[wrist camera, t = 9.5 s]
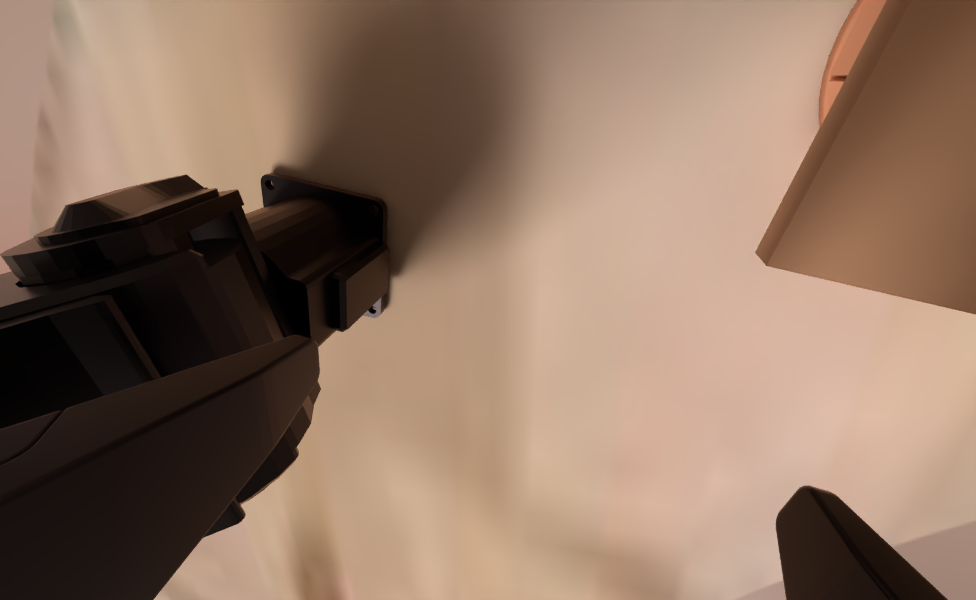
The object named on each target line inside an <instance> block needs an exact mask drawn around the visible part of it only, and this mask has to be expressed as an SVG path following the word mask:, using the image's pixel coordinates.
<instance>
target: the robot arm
mask: <svg viewBox="0 0 976 600" xmlns="http://www.w3.org/2000/svg"><path fill="white" fill-rule="evenodd" d="M271 181H272V182H273V183H274V186H275V187H273V186H272V184H271ZM261 188H262V197H263V205H264V208H261V209H258V210H256V211H253V212H250V213H248V214H245V213H244V211H243V209H242V205H244V203H243V200H242V198H241V196H240V193H239V191H238V190H230V191H222V192H218V190H217V189H216V188H215V189H208V188H204V187H202V186H201V185H200V184H198V183H197V182H196V181H194V180H193V179H192V178H190V177H189V176H187V175H182V176H176V177H171V178H166V179H162V180H158V181H153V182H149V183H144V184H140V185H136V186H131V187H127V188H123V189H119V190H116V191H112V192H109V193H105V194H102V195H99V196H95V197H92V198H89V199H85V200H82V201H78V202H75V203H72V204H68V205H66V206H65V208H64V209H63V211H62V213H61V215H60V217H59V218H58V220H57V222H56V224H55V226H54V227H52V228H49V229H47V230H45V231H43V232H41V233H39V234H37V235H35V236H34V238H33V239H30V240H28V241H26V242H24V243H22V244H20V245H18V246H15V247H13V248H11V249H9V250H7V251H5V252H3V253H2V254H0V255H1V257H2V258H3V259H4V261H5V262H6V264H7V265H8V266H9V268H10V269H11V272H8V273H5V274H1V275H0V600H154V598H155V597H156V596H157V595H158V593H159V592H160V591H161V590H162V588H163V587H164V586H165V584H166V583H167V582H168V581H169V579H170V578H171V577H172V576H173V574H174V573H175V572H176V571H177V569H178V568H179V567H180V566H181V564H182V563H183V562H184V561H185V559H186V558H187V557H188V556H189V554H190V553H191V552H192V551H193V549H194V548H195V547H196V546H197V544H198V543H199V542H200V541H201V539H202V538H204V537H206V536H209V535H211V534H214V533H216V532H219V531H221V530H224V529H226V528H229V527H231V526H234V525H236V524H238V523H239V522H241V521H242V520H243V519H244V517H245V512H244V510H243V508H242V507H241V504H243V503H244V502H246V501H248V500H250V499H251V498H253V497H254V496H256V495H257V494H259V493H260V492H261V491H263V490H264V489H265V488H266V487H267V486H269V485H270V484H271V483H272V482H274V481H275V480H276V479H278V478H279V477H280V476H281V475H282V474H283V473H284V472H285V471H286V470H287V469H288V468H289V467H290V466H291V465H292V464H293V463H294V461H295V460H296V458H297V457H298V455H299V451H298V449H297V446H298V444H299V443H300V441H301V439H302V438H303V436H304V434H305V433H306V431H307V429H308V428H309V426H310V424H311V420H312V414H313V408H314V403H315V401H316V399H317V396H318V394H319V392H320V390H321V388H320V385H319V383H318V378H319V373H320V368H319V353H318V347H319V346H320V345H321V344H322V343H323V342H324V341H325V340H326V339H327V338H329V337H330V336H331V335H332V334H333V333H334V332H335V331H336V330H337V331H340V332H344V331H345V330H347V329H349V328H350V327H351V326H352V325H353V324H354V323H355V322H356V321H357V320H358V319H359V318H360V317H361V316H362V315H365V316H368V317H372V318H376V317H378V316H379V315H380V314H381V313H382V312H383V311H384V298H385V293H386V292H387V291H388V279H389V252H390V249H389V247H388V245H387V243H386V236H387V206H386V204H385V202H383V201H382V200H381V199H379V198H376V197H372V196H368V195H363V194H359V193H355V192H351V191H347V190H343V189H338V188H334V187H330V186H326V185H322V184H318V183H313V182H309V181H305V180H301V179H297V178H293V177H288V176H284V175H280V174H276V173H270V174H266V175H264V176H262V178H261ZM373 205H374V206H376V207H377V208H378V211H379V212H378V213H376V212H375V211H374V210H373ZM372 306H374V307H375V308H376V310H374V309H373V308H372ZM776 532H777V539H778V546H779V553H780V559H781V566H782V573H783V580H784V586H785V594H786V600H948V599H947V598H945V596H943V595H942V594H941V593H940V592H939V591H938V590H937V589H936V588H935V587H934V586H933V585H932V584H931V583H930V582H928V581H927V580H926V579H925V578H924V577H923V576H922V575H921V574H920V573H919V572H918V571H917V570H916V569H915V568H914V567H912V566H911V565H910V564H909V563H908V562H907V561H906V560H905V559H904V558H903V557H902V556H901V555H899V554H898V553H897V552H896V551H895V550H894V549H893V548H892V547H891V546H890V545H889V544H888V543H887V542H886V541H885V540H884V539H883V538H881V537H880V536H879V535H878V534H877V533H876V532H875V531H874V530H873V529H872V528H871V527H870V526H869V525H868V524H867V523H865V522H864V521H863V520H862V519H861V518H860V517H859V516H858V515H857V514H856V513H855V512H854V511H853V510H852V509H851V508H849V507H848V506H847V505H846V504H845V503H844V502H843V501H842V500H841V499H840V498H839V497H838V496H836V495H835V494H833V493H831V492H829V491H826V490H822V489H819V488H816V487H812V486H803V487H800V488H799V489H798V490H797V491H796V493H795V494H794V495H793V496H792V497H791V499H790V500H789V501H788V502H787V503H786V505H785V506H784V507H783V508H782V509H781V510H780V512H779V513H778V516H777V519H776Z"/></svg>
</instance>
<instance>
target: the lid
mask: <svg viewBox="0 0 976 600" xmlns="http://www.w3.org/2000/svg"><path fill="white" fill-rule="evenodd" d="M755 253H756V254H757V255H758V256H759V257H760V259H761V260H762V261H763V262H764V263H765V265H766V266H770V267H774V268H778V269H782V270H787V271H791V272H795V273H800V274H804V275H808V276H813V277H817V278H821V279H826V280H830V281H834V282H839V283H843V284H847V285H852V286H856V287H860V288H864V289H869V290H873V291H877V292H882V293H886V294H890V295H895V296H899V297H903V298H908V299H912V300H916V301H921V302H925V303H929V304H933V305H938V306H942V307H946V308H951V309H955V310H959V311H964V312H968V313H972V314H976V0H886V2H885V4H884V6H883V8H882V10H881V12H880V14H879V16H878V18H877V20H876V21H875V23H874V25H873V27H872V29H871V31H870V33H869V35H868V37H867V39H866V41H865V43H864V45H863V46H862V48H861V50H860V52H859V54H858V56H857V58H856V60H855V62H854V64H853V66H852V68H851V69H850V71H849V73H848V75H847V77H846V79H845V81H844V83H843V85H842V87H841V89H840V91H839V93H838V94H837V96H836V98H835V100H834V102H833V104H832V106H831V108H830V110H829V112H828V114H827V116H826V117H825V119H824V121H823V123H822V125H821V127H820V129H819V131H818V133H817V135H816V137H815V139H814V141H813V142H812V144H811V146H810V148H809V150H808V152H807V154H806V156H805V158H804V160H803V162H802V164H801V165H800V167H799V169H798V171H797V173H796V175H795V177H794V179H793V181H792V183H791V185H790V187H789V188H788V190H787V192H786V194H785V196H784V198H783V200H782V202H781V204H780V206H779V208H778V210H777V212H776V213H775V215H774V217H773V219H772V221H771V223H770V225H769V227H768V229H767V231H766V233H765V235H764V236H763V238H762V240H761V242H760V244H759V246H758V248H757V250H756V252H755Z"/></svg>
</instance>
